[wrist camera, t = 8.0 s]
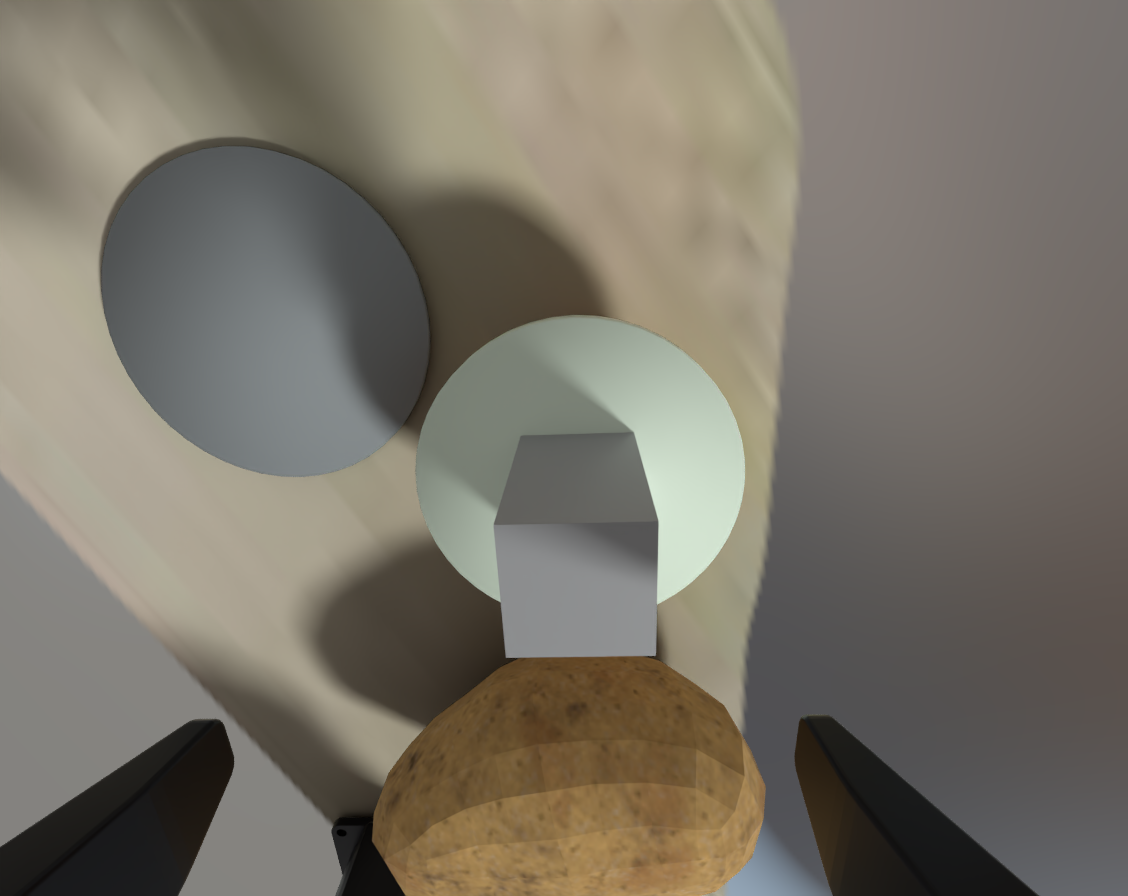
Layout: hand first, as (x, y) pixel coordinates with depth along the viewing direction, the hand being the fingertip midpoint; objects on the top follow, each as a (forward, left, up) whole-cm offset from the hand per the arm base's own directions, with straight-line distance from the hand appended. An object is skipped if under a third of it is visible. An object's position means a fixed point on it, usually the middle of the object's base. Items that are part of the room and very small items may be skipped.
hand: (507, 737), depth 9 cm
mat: (+5, +9, -13) cm, 17 cm away
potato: (-12, 0, -13) cm, 17 cm away
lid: (+1, -1, -8) cm, 8 cm away
